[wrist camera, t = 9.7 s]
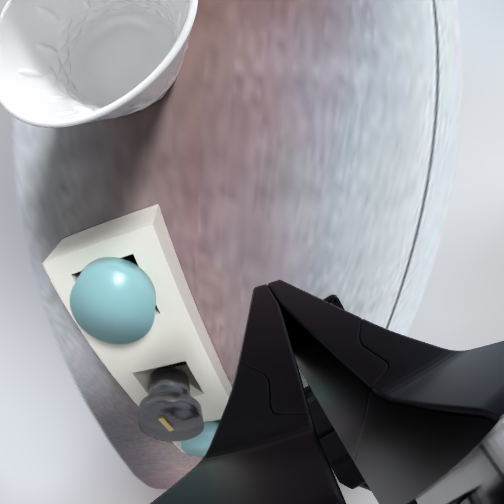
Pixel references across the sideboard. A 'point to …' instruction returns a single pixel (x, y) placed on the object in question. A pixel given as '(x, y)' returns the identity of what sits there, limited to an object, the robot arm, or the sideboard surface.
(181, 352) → the knob housing
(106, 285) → the near knob
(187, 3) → the white cup
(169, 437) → the pot dial
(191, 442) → the far knob
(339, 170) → the sideboard surface
